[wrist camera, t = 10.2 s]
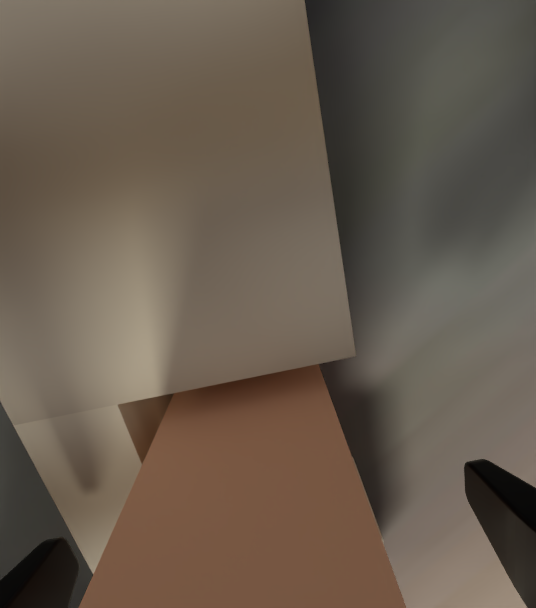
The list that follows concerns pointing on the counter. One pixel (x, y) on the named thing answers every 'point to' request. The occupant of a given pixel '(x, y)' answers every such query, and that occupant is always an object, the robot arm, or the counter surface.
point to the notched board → (155, 226)
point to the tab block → (247, 507)
